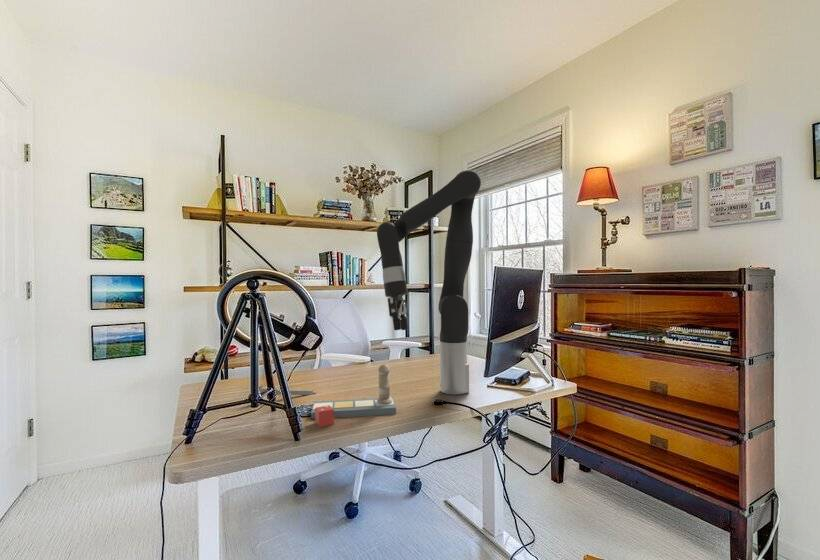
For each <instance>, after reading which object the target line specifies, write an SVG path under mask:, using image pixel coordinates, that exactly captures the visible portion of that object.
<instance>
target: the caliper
mask: <svg viewBox="0 0 820 560" xmlns="http://www.w3.org/2000/svg"><path fill="white" fill-rule="evenodd" d="M267 388H268V387H264V385H263V384H261V385H259V391H260V393H262V392H265V391H267ZM280 390H281V389H278V388H276V387H275V391H276V396H282V395H281V392H280ZM289 390H290V393H291V395H290V396H297V395H298V396H310V395H313V394H317V392H316V391H314V390H313V389H289Z"/></svg>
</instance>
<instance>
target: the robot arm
mask: <svg viewBox="0 0 820 560" xmlns="http://www.w3.org/2000/svg"><path fill="white" fill-rule="evenodd" d="M481 181H482V180H481V177H480V175H479V174H478V173H477V172H476V171H474V170H471V169H469V170H467V169H466V170H462V171H460V172H459V173H457V174H456V175H455V177H454V178H452V179H451V180H450V181H449V182H448V183H447V184H445V186H443V187H442V188H440V189H439V190H437V191H436V192H435V193H433V194H431V195H430V196H428V197H427V198H426V199H423V200H422V201H420V202H417V204H415V205H414V206H412V207H410V208H409V209H407V210H406V211H404V212H403V213H402V214H400V216H399V218H398V219H397V220H396V221H394V222H393V223H392V222H390V221H385V222H382V223H380V224H379V225H378V228H377V230H376V237H377V238H376V239H377V242H378V247H379V252H380V260H381V267H382V281H383V288H384V289H383V290H384V296H385V297H386V298H387V306H388V313H389V314H388V315H389V317H391V319H392V323H393V331H406V330H408V328H409V325H408V319H407V318H408V317H409V312H408V305H407V300H406V299H404V297H403V296H405V295H408V285H407V279H406V273H405V268H404V263H403V262H404V261H403V256H402V253H401V249H400V243H401V241H403V239H405V238H406V237H407V236H408V235H410V234H411V233H412V232H413V231H416V230H417V229H419V228H420V227H422V226H424V225H425V224H427V223H429V221H431V220H432V219H434V218H435V217H436V216H437V215H439V214H440V213H441V212H442V211H443V210H445V209H447V208H448V207H450V206H451V207H450V208H451V210H450V218H449V222H448V227H447V234H446V238H445V239H446V240H445V247H444V259H443V261H444V262H443V263H444V264H443V282H442V288H441V293H440V297H439V301H438V312H439V314H440V332H439V372H440V373H439V374H440V375H439V377H440V381H439V383H440V384H439V385H440V389H439V390H440V392H441V393H443V394H444V395H445V394H447V395H453V396H455V395H464V394H467V393H468V394H469V393H470V365H469V363H468V342H467V341H468V333H469V306H468V301H466V299H465V298H464V287H465V286H464V285H465V279H466V276H467V272H468V270H469V266H470V263H471V259H472V255H473V254H472V253H473V244H474V232H473V229H474V228H473V219H472V218H473V217H472V216H473V209H474V202H475V199H476V195H477V194H478V193H479V191H480V190H481V189H480V188H481V185H482V184H481V183H482V182H481Z"/></svg>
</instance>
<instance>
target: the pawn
mask: <svg viewBox="0 0 820 560" xmlns="http://www.w3.org/2000/svg"><path fill="white" fill-rule="evenodd" d="M377 370H378V371H377V372H378V396H377V397H376V398H377V403H378V404H390V403H391V402H392V397H393V396H390V393H391V392H390V388H391V387H390V371H391V369H390V366H389V365H387V364H381V365H379V367H378V369H377Z"/></svg>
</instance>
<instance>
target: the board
mask: <svg viewBox="0 0 820 560" xmlns="http://www.w3.org/2000/svg"><path fill="white" fill-rule="evenodd" d="M391 397H392V402H391V403H390V404H378V403H377V398H378V397H375V398H373V397H372V398H357V399H356V398H355V399H353V398H352V399H338V400H321V401H313V404H312V408H311V412H310V419H311V418H315V408H316V407H322V406H328V405H330V406H331V407H332V408H333V409H334V417H336V418H348V416H352V417H362V416H363V417H365V416H367V417H369V416H381V415H382V416H383V415H397V406H396V403H395V400H394V398H393V396H391Z"/></svg>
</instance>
